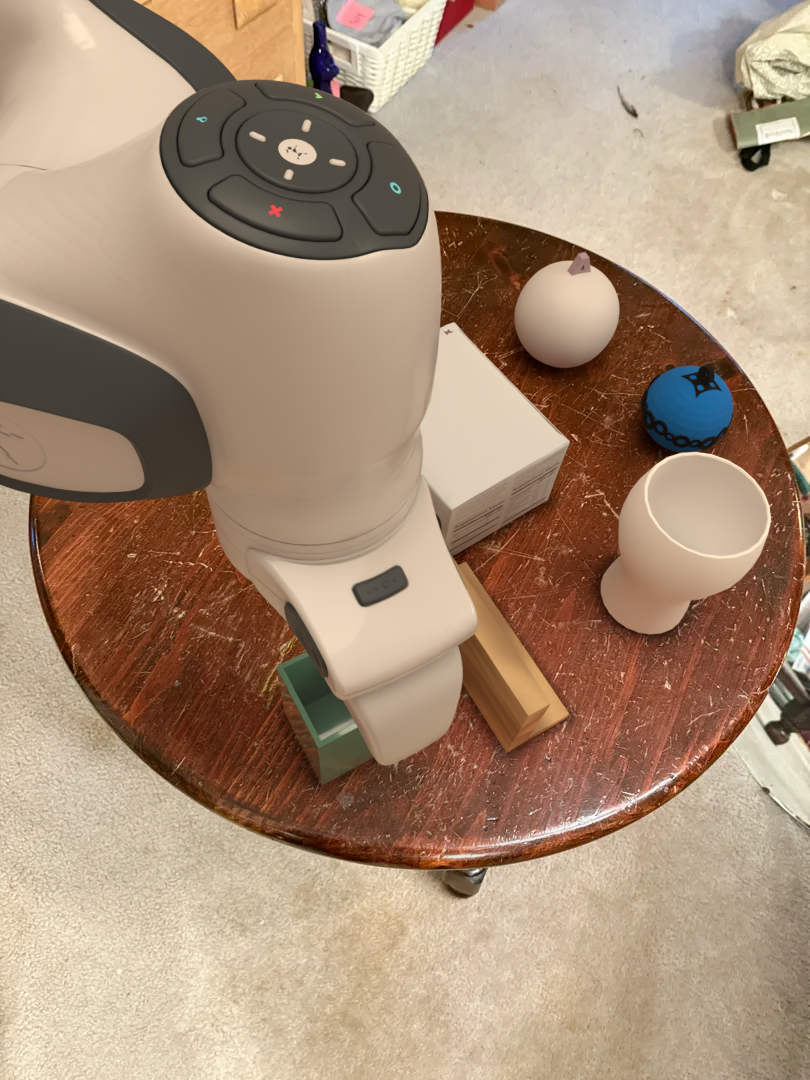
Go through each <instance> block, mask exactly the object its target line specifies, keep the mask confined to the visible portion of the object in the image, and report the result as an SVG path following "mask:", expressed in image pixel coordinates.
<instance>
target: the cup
mask: <svg viewBox="0 0 810 1080" xmlns="http://www.w3.org/2000/svg"><path fill="white" fill-rule="evenodd" d="M771 523H772V516H771V507H770V504H769V501H768V498H767V496H766V494H765V492H764V490H763V489H762V488H761V486H760V485H759V483H758V482H757V481H756V479H754V477H752V475H750V474H749V473H748V472H747V471H746V470H745V469H743V468H742V467H740V466H739V465H737V464H735V463H733V462H732V461H731V460H729V459H726V458H723V457H720V456H718V455H715V454H712V453H705V452H699V451H695V452H689V453H683V452H678V453H677V454H673V455H670V456H666V457H665V458H663V459H662V460H660V461H659V462H658V463H655V464H654V466H652V467H651V468H650V469H649V470H648V471H647V472H645V474H643V475H642V476H641V477H639V479H638V480H637V481H636V483H635V484H634V485H633V487H632V488H631V489H630V491H629V492H628V494H627V496H626V498H625V500H624V502H623V504H622V507H621V510H620V513H619V516H618V536H617V537H618V542H617V543H618V544H617V545H618V549H619V553H620V555H619V556H618V557H616V559H615V560H613V562H612V563H611V564H610V566H608V568H607V569H606V570H605V572H604V573H603V575H602V579H601V581H600V595H601V599H602V601H603V602H602V603H603V605H604V606H605V608H606V610H607V612H608V614H610V616H611V617H612V618H613V619H614V620H615V621H616V622H617V623H619V624H620V625H622V626H624V627H625V628H626V629H628V630H631V631H632V632H633V631H634V632H636V633H638V634H644V635H660V634H663V633H666V632H669V631H671V630H673V629H674V628H675V627H677V626H678V625H679V624H680V622H681V620H682V619H683V618H684V616H685V614H686V613H687V611H688V609H689V606H690V604H691V602H692V601H699V600H703V599H706V598H708V597H711V596H714V595H716V594H719V593H722V592H723V591H727V590H728V589H730V588H732V587H733V586H734V585H735V584H737V583H738V582H740V581H741V580H742V579H743V578H744V577H745V576H746V574H748V573H749V571H750V570H751V569H752V568H753V567H754V566H755V564H756V563H757V561H758V559H759V557H760V556H761V555H762V553H763V552H762V551H763V549H764V546H765V544H766V541H767V538H768V536H769V532H770V528H771Z"/></svg>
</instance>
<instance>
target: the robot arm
mask: <svg viewBox="0 0 810 1080" xmlns="http://www.w3.org/2000/svg"><path fill="white" fill-rule="evenodd" d="M430 195H431V194H430V193H429V189H428V187H427V184H426V182H425V180H424V178H423V176H422V174H421V172H420V170H419V168H418V167H417V164H416V162H415V161H414V160H413V158H412V157H411V155H410V153H408V151H407V149H406V148H405V147H404V146H403V144H402V143H401V142H400V141H399V140H398V139H397V138H396V136H395V135H394V134H393V133H392V132H391V131H390V130H389V129H388V128H387V127H386V126H385V125H383V124H382V123H381V122H380V121H378V120H377V119H376V118H375V117H373V116H372V115H370V114H369V113H368V112H366V111H365V110H363V109H361V108H360V107H358V106H356V105H354V104H353V103H350V102H349V101H347V100H345V99H343V98H341V97H338V96H336V95H335V94H332V93H328V92H326V91H323V90H320V89H318V88H314V87H312V86H306V85H302V84H299V83H294V82H289V81H283V80H273V79H258V78H257V79H240V80H239V79H237V78H236V76H234V75H233V73H232V72H231V71H230V70H229V69H228V67H227V66H226V65H225V64H224V63H223V61H221V60H220V59H219V58H218V57H217V56H216V55H215V54H214V53H213V52H212V51H210V50H209V48H207V47H206V46H205V45H203V44H202V43H201V42H200V41H199V40H197V39H196V38H195V37H194V36H193V35H190V33H188V32H187V31H185V30H184V29H182V28H181V27H179V25H178V26H177V25H176V24H174V23H173V22H172V21H170V20H169V19H166V18H165V17H163V16H162V15H160V14H158V13H157V12H155V11H153V10H151V9H150V8H148V7H146V6H145V5H143V4H141V3H139V2H138V1H136V0H0V486H2V487H6V488H8V489H11V490H14V491H16V492H17V491H18V492H21V493H25V494H29V495H33V496H37V497H43V498H46V499H51V500H58V501H63V502H64V501H65V502H74V503H87V504H111V503H129V502H139V501H147V500H156V499H167V498H173V497H180V496H184V495H189V494H193V493H195V492H198V491H202V490H205V494H206V497H207V501H208V506H209V510H210V514H211V517H212V522H213V526H214V530H215V533H216V537H217V540H218V542H219V545H220V547H221V549H222V551H223V552H224V554H225V556H226V558H227V560H229V562H230V563H231V564H232V566H233V567H234V568H235V569H236V570H237V571H238V572H239V573H240V574H241V575H242V576H243V577H245V578H246V579H247V580H249V581H250V582H251V583H252V584H253V586H254V588H255V589H256V590H257V591H258V592H259V594H260V595H261V596H262V597H263V598H264V599H265V600H266V601H267V602H268V603H269V604H270V606H271V607H272V608H273V609H275V611H276V612H277V613H278V614H279V616H280V617H282V618H283V620H284V621H285V622H286V624H287V625H288V627H289V629H290V630H291V632H292V633H293V634H294V636H295V638H297V641H299V643H300V644H301V646H302V648H303V649H304V650H305V652H307V653H308V655H309V657H310V658H311V660H312V662H313V663H314V665H315V667H316V668H317V670H318V672H319V673H320V675H321V676H322V677H324V678H325V680H326V682H327V684H328V685H329V687H330V689H331V691H332V692H333V694H334V695H335V696H336V697H337V698H339V699H341V700H343V701H344V703H345V705H346V707H347V709H348V710H349V712H350V714H351V716H352V718H353V720H354V721H355V723H356V725H357V727H358V729H359V731H360V733H361V734H362V736H363V738H364V740H365V742H366V745H367V747H368V749H369V751H370V753H371V754H372V756H373V757H374V758H373V759H374V760H375V761H376V762H377V764H379V765H381V766H385V767H386V766H387V767H388V766H390V765H391V766H392V765H394V764H398V763H399V762H400V761H403V760H405V759H407V758H409V757H411V756H413V755H415V754H417V753H418V752H420V751H422V750H424V749H425V748H427V747H428V746H430V745H432V744H433V743H436V742H437V741H438V740H439V739H441V738H443V736H445V735H446V734H447V732H448V731H449V730H450V728H451V725H452V724H453V720H454V718H455V715H456V712H457V709H458V705H459V700H460V696H461V692H462V687H463V683H462V681H463V666H462V659H461V654H460V650H459V647H458V645H460V644H461V643H463V642H464V641H466V640H467V639H468V638H470V637H471V636H472V635H474V633H475V631H476V629H477V624H478V617H477V612H476V609H475V606H474V604H473V602H472V600H471V598H470V596H469V594H468V592H467V589H466V586H465V584H464V582H463V580H462V578H461V576H460V573H459V571H458V569H457V567H456V565H455V563H454V560H455V559H454V560H453V558H454V557H453V558H452V556H451V553H450V551H449V549H448V546H447V544H446V542H445V540H444V538H443V536H442V533H441V530H440V527H439V524H438V521H437V517H436V514H435V510H434V506H433V502H432V498H431V494H430V490H429V487H428V484H427V481H426V479H425V477H424V476H423V475H421V470H422V463H423V437H422V433H421V428H420V425H421V423H422V421H423V419H424V417H425V415H426V412H427V409H428V407H429V404H430V401H431V396H432V392H433V387H434V380H435V372H436V364H437V355H438V345H439V334H440V328H441V317H442V316H441V314H442V292H443V291H442V289H443V283H442V282H443V281H442V280H443V279H442V277H443V276H442V274H443V273H442V257H441V254H442V253H441V245H440V237H439V230H438V224H437V223H438V221H437V218H436V214H435V209H434V205H433V202H432V198H431V196H430Z"/></svg>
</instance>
